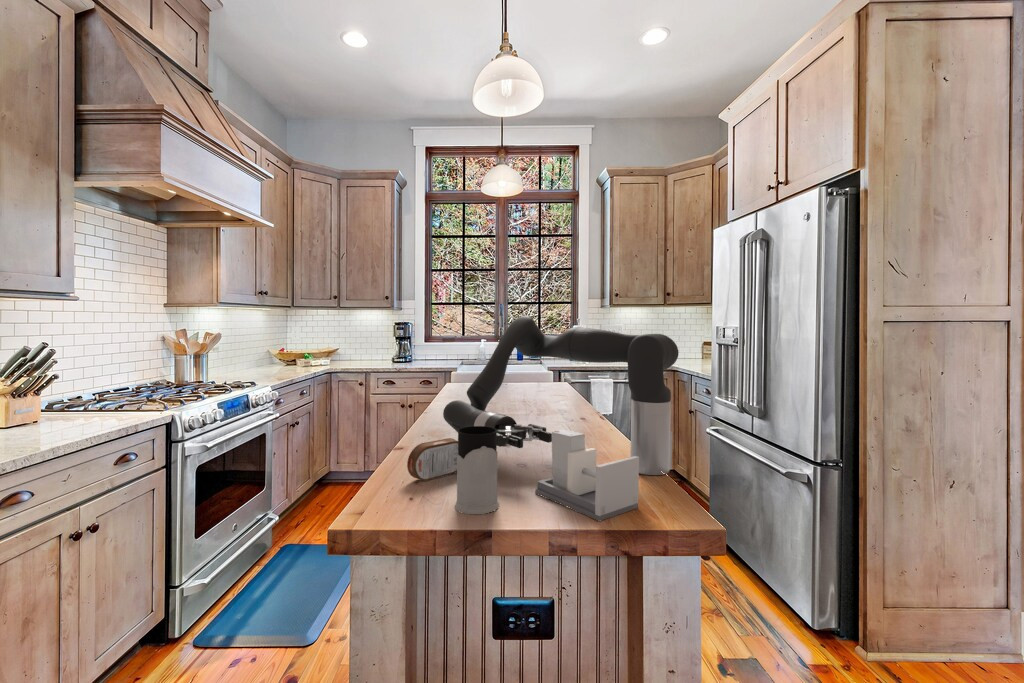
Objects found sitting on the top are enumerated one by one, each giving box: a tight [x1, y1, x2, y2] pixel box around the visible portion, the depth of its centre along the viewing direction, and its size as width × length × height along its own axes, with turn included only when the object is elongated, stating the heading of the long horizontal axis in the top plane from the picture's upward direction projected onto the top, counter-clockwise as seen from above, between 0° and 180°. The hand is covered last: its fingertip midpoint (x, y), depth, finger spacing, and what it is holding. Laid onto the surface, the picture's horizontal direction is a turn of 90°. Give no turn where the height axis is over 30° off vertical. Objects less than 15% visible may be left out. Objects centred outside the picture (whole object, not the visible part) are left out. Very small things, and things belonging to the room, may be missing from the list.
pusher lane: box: [534, 456, 640, 522], centre depth 100 cm, size 11×18×10 cm, turn 37°
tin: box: [406, 437, 458, 482], centre depth 115 cm, size 15×3×8 cm, turn 134°
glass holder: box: [454, 426, 500, 515], centre depth 99 cm, size 9×14×15 cm, turn 22°
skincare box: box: [551, 428, 586, 491], centre depth 104 cm, size 6×4×12 cm
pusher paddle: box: [567, 447, 597, 495], centre depth 99 cm, size 7×6×9 cm
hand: (536, 440), depth 113 cm, fingers open, 8 cm apart
